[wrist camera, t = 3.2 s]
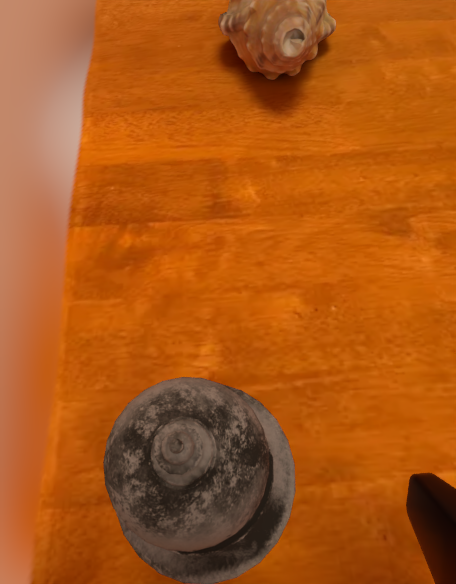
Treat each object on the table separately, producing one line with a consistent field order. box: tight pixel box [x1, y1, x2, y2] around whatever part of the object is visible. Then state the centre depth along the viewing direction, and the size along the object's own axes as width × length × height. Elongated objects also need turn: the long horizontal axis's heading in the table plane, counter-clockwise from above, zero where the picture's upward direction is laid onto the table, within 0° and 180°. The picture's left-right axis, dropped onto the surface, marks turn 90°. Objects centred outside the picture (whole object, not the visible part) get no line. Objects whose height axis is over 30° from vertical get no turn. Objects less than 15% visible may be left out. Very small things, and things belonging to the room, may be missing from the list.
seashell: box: [219, 0, 336, 80], centre depth 26 cm, size 9×8×10 cm
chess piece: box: [104, 377, 295, 584], centre depth 11 cm, size 6×6×12 cm
